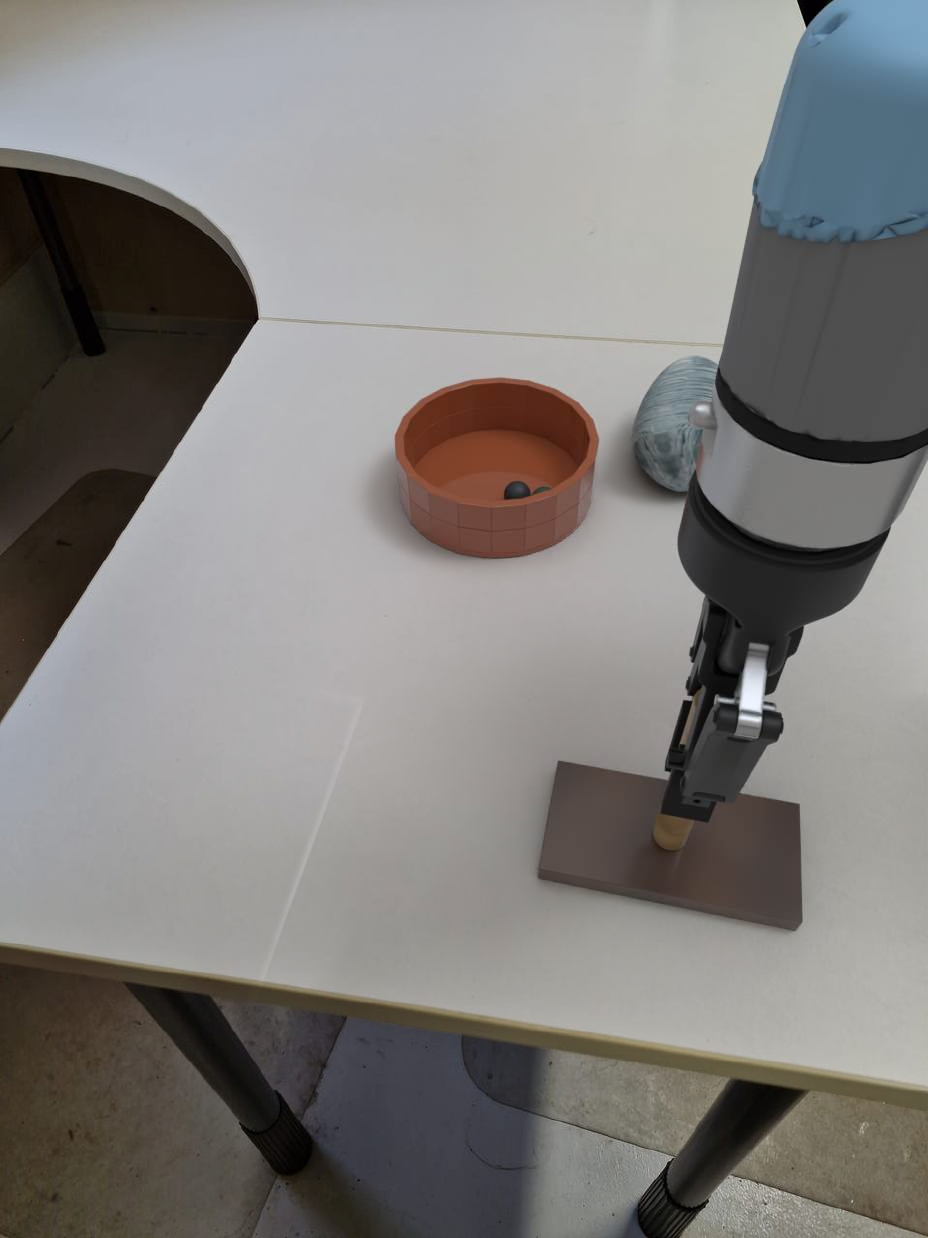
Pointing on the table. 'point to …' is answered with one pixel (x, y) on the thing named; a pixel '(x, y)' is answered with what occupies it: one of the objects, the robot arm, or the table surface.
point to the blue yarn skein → (672, 421)
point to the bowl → (496, 466)
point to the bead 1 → (516, 490)
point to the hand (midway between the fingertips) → (686, 790)
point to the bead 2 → (540, 490)
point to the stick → (669, 828)
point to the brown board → (689, 877)
